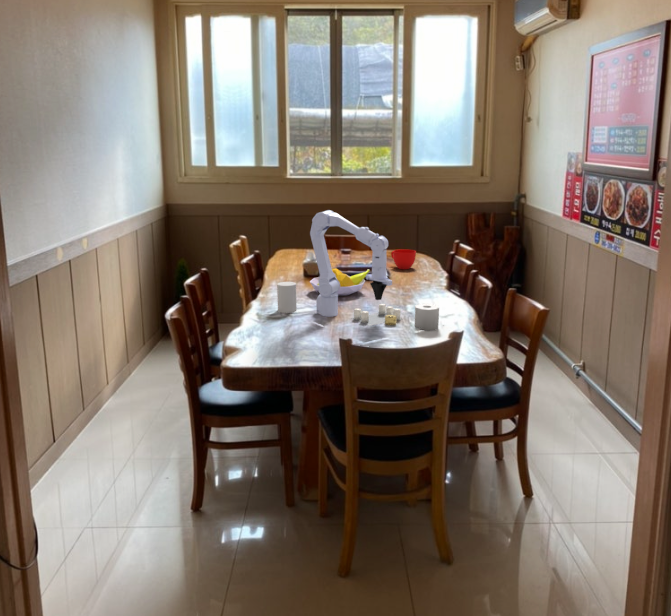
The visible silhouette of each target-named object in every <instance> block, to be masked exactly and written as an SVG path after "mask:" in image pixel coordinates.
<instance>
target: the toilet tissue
mask: <svg viewBox="0 0 671 616" xmlns="http://www.w3.org/2000/svg"><path fill="white" fill-rule="evenodd" d="M414 307H415V308H414V327H415V328H418V329H419V331H425V332H432V331H436V330H438V329H439V318H440V307H439V305H437V304H434V303H418V304H416V305H414Z"/></svg>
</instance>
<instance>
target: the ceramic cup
mask: <svg viewBox="0 0 671 616" xmlns="http://www.w3.org/2000/svg"><path fill="white" fill-rule="evenodd" d="M416 255H417V250H415V249H406V248H405V249H402V248H400V249H394V250H392V251H391V253H390V256H391V258H392V260H393V261H394V264H395V266H396V267H397V269H399V270H409V269H411V268H412V267H413V266H414V263H415V261H416Z"/></svg>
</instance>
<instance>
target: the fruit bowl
mask: <svg viewBox="0 0 671 616" xmlns="http://www.w3.org/2000/svg"><path fill="white" fill-rule="evenodd" d="M331 268H332V272H333V273H334V274H335V275H336V278H337V280H338V281H339V283H340V288H339V290H338V291H337V293H338V297H340V296H349V295H352V294H355V293H356V292H359V291H361V290H362V288H363V286H364V284H365V283H366V280H365V279H366V275H367V274H369V273H370V272H371V270H370V269H367V270H366V271H363V272H360V273H356V274H354V275H351V276H350V275H348V274H346V273H343V272H342V271H341V270H340V269H338V268H335V267H334V268H333V267H331ZM318 280H319V276H318V277H313V278H312V279H311V280H310V281H309V283H310V285H311V286H312V287H313V289H314V291H316V292H318V293H319V290H318V288H319V281H318Z"/></svg>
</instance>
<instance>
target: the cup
mask: <svg viewBox="0 0 671 616" xmlns="http://www.w3.org/2000/svg"><path fill="white" fill-rule="evenodd" d="M276 285H277V289H276V290H277V295H276V296H277V312H278V313H282V314H291V313H292V312H293V313H296V312H297V311H296V310H297V309H298V308H297V283H296V282H294V281H280V282H277V284H276ZM295 311H296V312H295Z"/></svg>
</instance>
